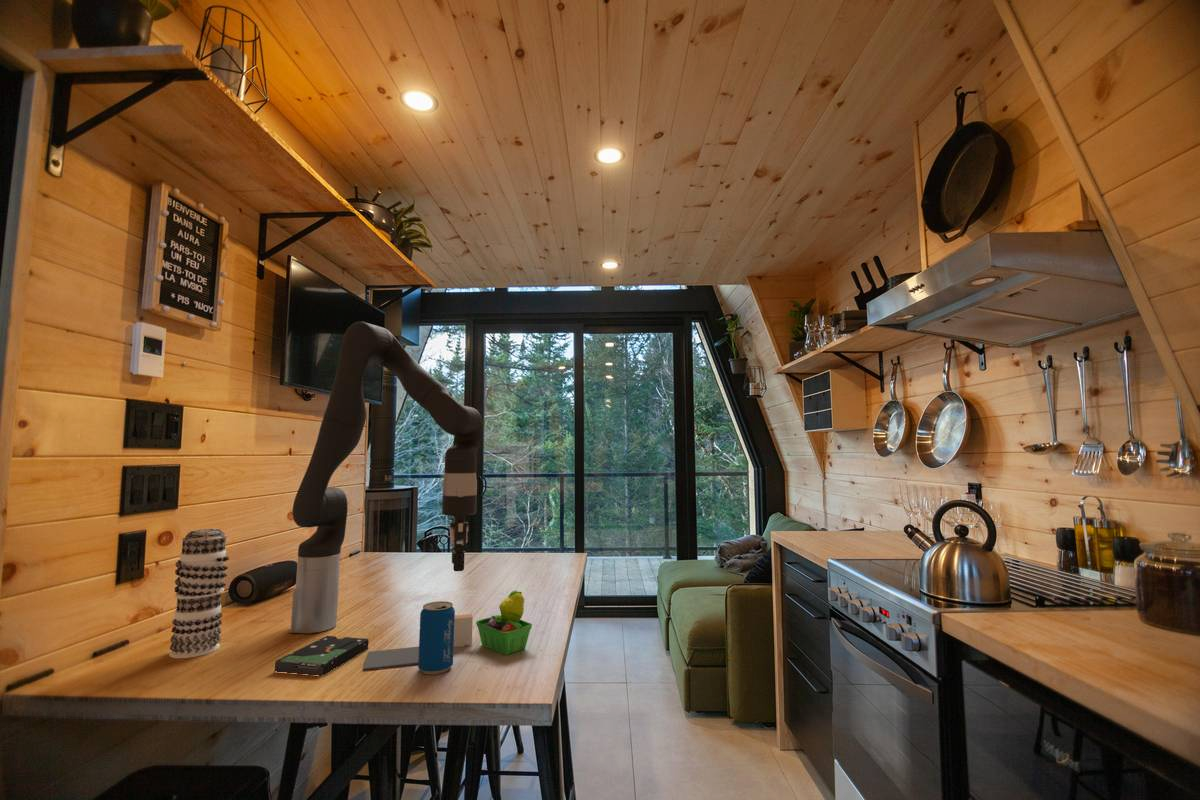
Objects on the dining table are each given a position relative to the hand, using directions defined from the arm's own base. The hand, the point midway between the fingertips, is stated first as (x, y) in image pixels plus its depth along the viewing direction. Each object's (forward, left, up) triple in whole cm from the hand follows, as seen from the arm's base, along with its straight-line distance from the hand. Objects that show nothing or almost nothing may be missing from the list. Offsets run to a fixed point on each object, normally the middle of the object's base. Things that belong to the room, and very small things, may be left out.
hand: (457, 566), depth 116 cm
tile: (0, 0, -17) cm, 17 cm away
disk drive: (-26, -1, -17) cm, 31 cm away
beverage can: (-4, -12, -17) cm, 21 cm away
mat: (-12, -4, -17) cm, 21 cm away
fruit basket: (+10, -4, -17) cm, 20 cm away
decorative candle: (-53, +13, -17) cm, 57 cm away
